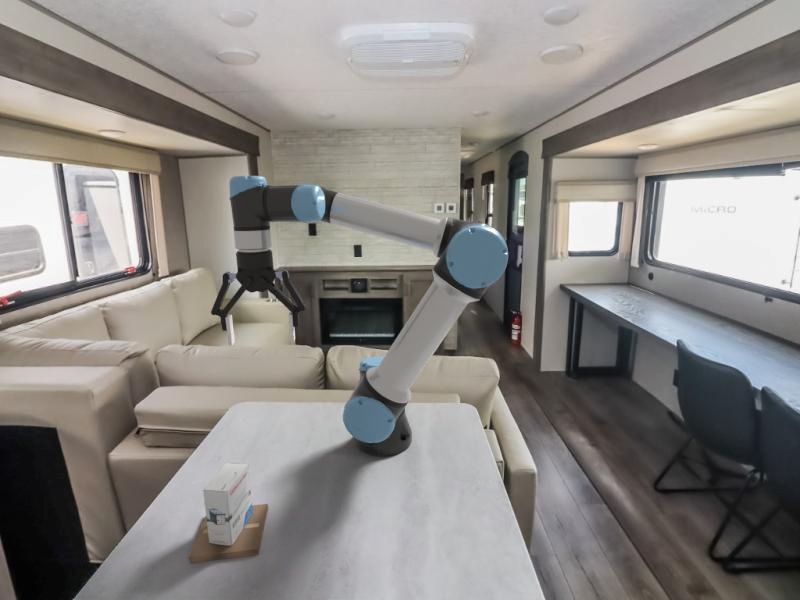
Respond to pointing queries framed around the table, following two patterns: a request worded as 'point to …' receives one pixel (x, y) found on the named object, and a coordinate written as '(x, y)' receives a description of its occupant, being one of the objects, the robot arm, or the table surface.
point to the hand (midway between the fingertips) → (262, 342)
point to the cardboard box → (243, 544)
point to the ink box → (228, 503)
